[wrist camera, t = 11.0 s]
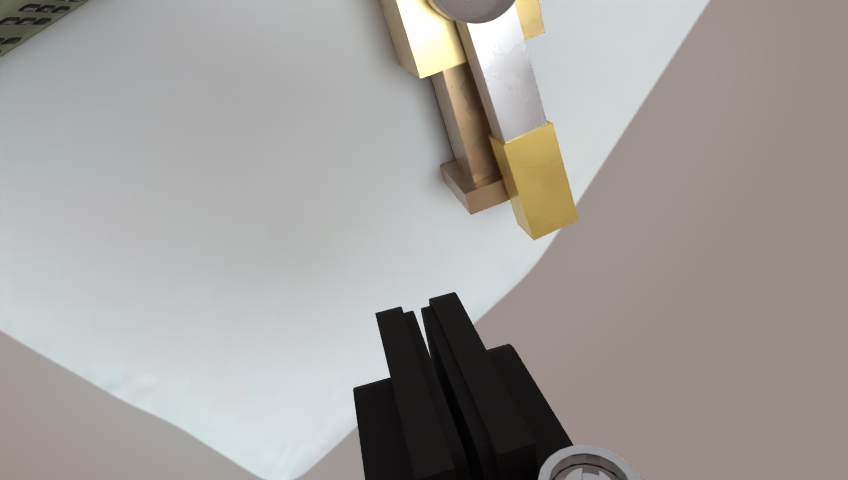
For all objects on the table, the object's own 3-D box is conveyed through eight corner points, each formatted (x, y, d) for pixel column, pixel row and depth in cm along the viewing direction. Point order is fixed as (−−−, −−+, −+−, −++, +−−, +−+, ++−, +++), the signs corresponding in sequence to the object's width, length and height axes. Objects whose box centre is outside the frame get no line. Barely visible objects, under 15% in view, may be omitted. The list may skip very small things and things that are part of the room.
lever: (405, -59, 23) (415, -65, 21) (491, -97, 23) (510, -108, 21) (505, 229, 31) (520, 246, 29) (571, 199, 31) (590, 213, 29)
